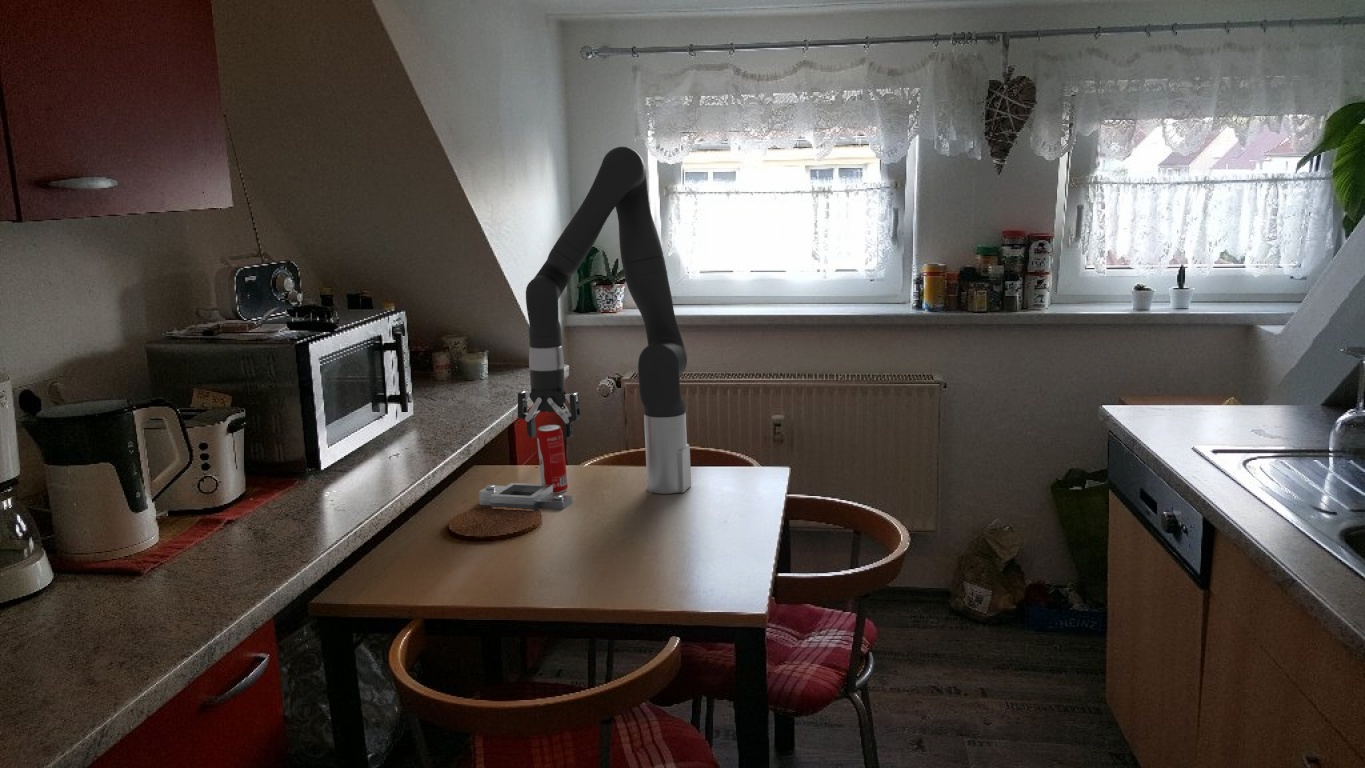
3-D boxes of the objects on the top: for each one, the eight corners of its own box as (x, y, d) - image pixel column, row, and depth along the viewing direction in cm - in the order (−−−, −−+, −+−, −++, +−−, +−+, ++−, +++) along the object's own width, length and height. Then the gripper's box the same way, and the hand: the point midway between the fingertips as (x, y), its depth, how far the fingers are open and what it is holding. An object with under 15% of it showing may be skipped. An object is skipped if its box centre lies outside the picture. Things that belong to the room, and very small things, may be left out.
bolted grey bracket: (576, 499, 213) (575, 483, 212) (558, 513, 204) (557, 496, 203) (495, 495, 219) (494, 479, 218) (474, 508, 209) (473, 492, 208)
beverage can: (570, 487, 223) (566, 422, 220) (564, 495, 216) (560, 429, 214) (544, 487, 223) (540, 423, 221) (537, 495, 217) (533, 429, 214)
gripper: (583, 364, 216) (586, 435, 219) (524, 362, 221) (528, 432, 224) (569, 370, 209) (572, 443, 212) (509, 368, 214) (513, 440, 216)
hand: (550, 438), depth 218 cm, fingers open, 8 cm apart
